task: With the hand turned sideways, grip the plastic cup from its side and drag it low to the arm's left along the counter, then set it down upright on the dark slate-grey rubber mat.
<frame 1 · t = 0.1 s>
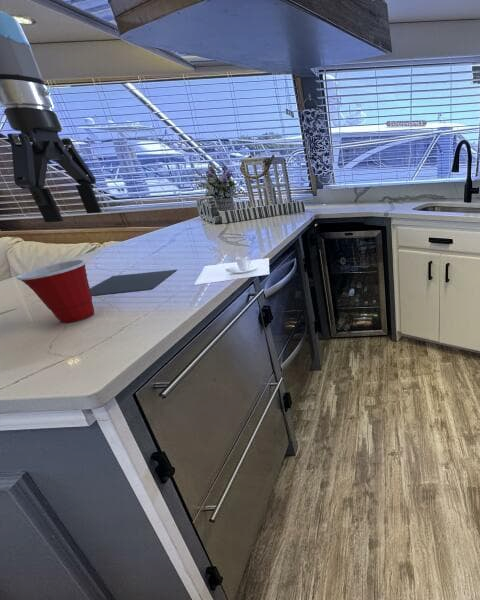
hand: (76, 217, 73), 21 cm above the worktop, tool pointing down, fingers open, 13 cm apart
teacup and saucer: (235, 270, 101), on the worktop
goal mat: (131, 282, 94), on the worktop
plastic cup: (77, 318, 72), on the worktop
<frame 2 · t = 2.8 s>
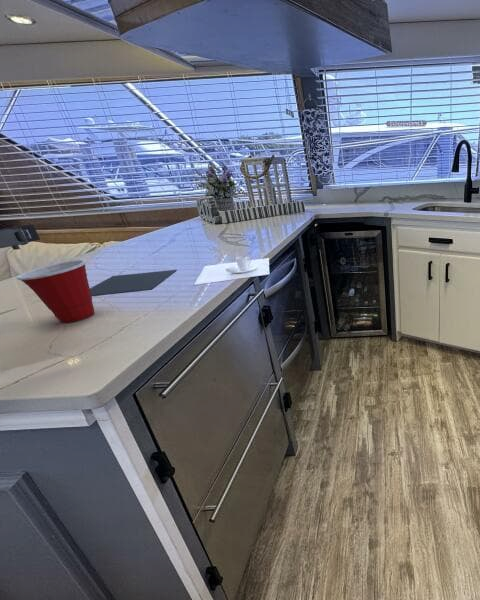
nothing on the worktop moved.
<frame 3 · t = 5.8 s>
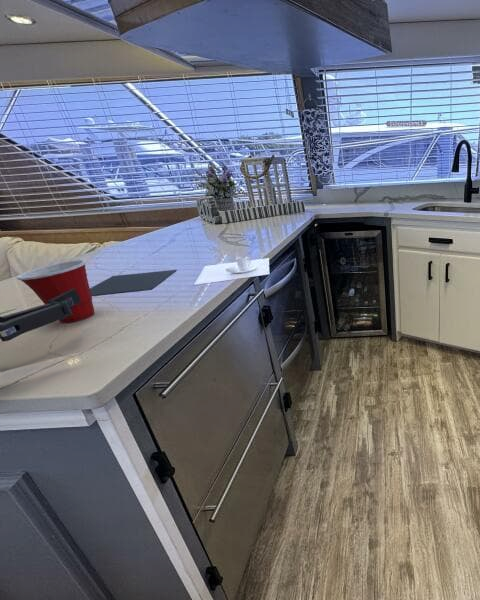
hand: (35, 299, 63), 7 cm above the worktop, tool horizontal, fingers open, 13 cm apart
nothing on the worktop moved.
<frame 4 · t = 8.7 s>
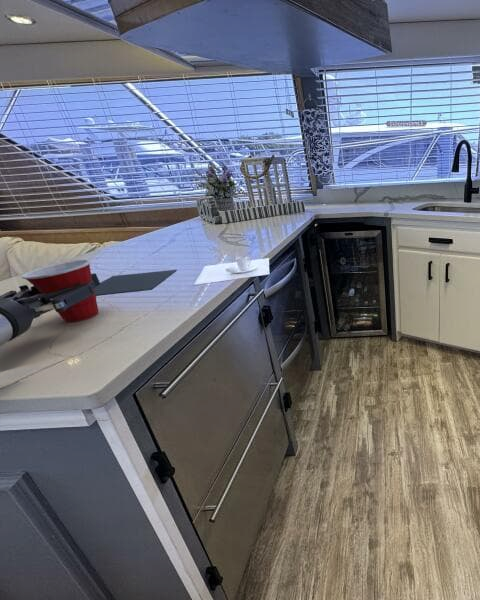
hand: (77, 281, 74), 7 cm above the worktop, tool horizontal, fingers closed on plastic cup, 7 cm apart
plastic cup: (81, 317, 72), on the worktop, touching gripper
everything else where it was.
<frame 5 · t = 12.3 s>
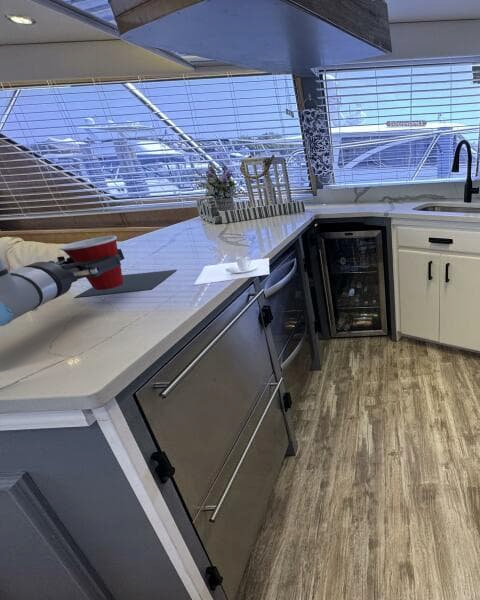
hand: (104, 255, 84), 10 cm above the worktop, tool horizontal, fingers closed on plastic cup, 7 cm apart
plastic cup: (108, 287, 82), point 3 cm above the worktop, touching gripper
everything else where it was.
when the fingers open (7 cm above the worktop, at t = 16.0 s): plastic cup stays where it is, resting on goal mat.
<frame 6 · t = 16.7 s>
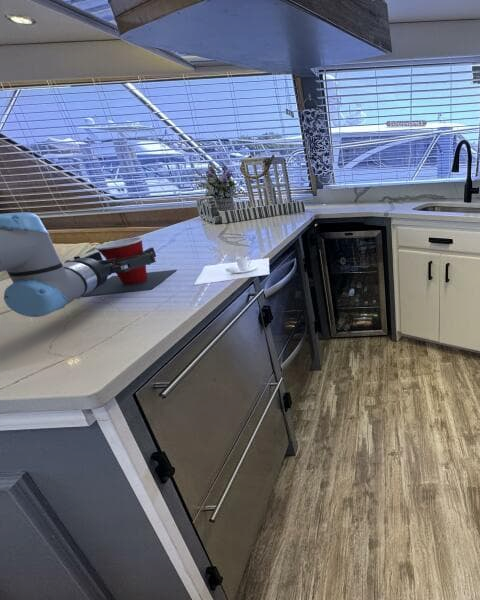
hand: (127, 254, 93), 8 cm above the worktop, tool horizontal, fingers open, 13 cm apart
plastic cup: (134, 282, 94), resting on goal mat
everything else where it was.
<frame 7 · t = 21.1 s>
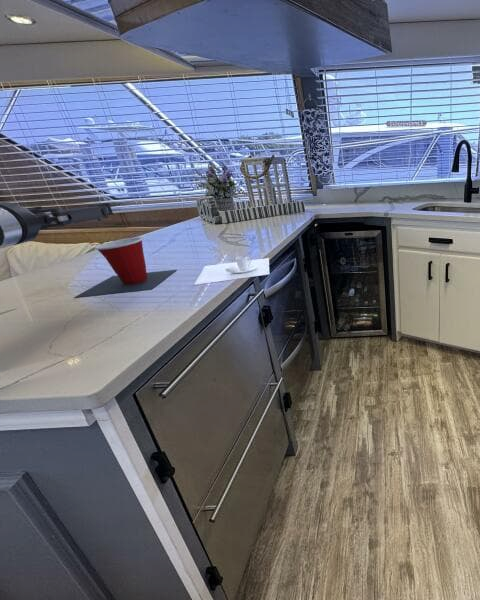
hand: (76, 210, 76), 22 cm above the worktop, tool horizontal, fingers open, 13 cm apart
nothing on the worktop moved.
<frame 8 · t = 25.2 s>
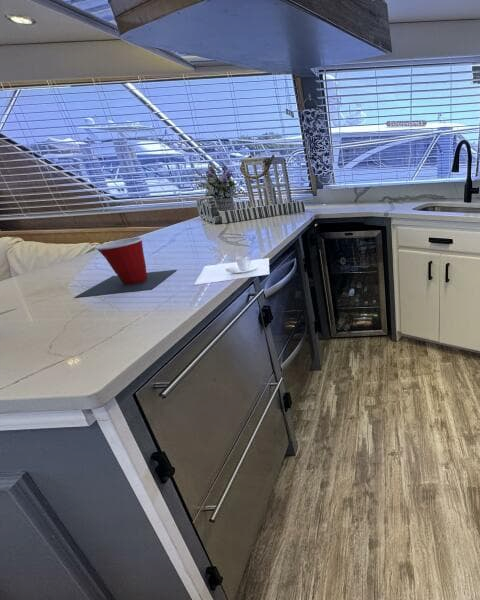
nothing on the worktop moved.
at the end: plastic cup inside the target area on the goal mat (0.9 cm from its centre), point 0.0 cm above the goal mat's base; plastic cup tilted 0°; the gripper is holding nothing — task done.
